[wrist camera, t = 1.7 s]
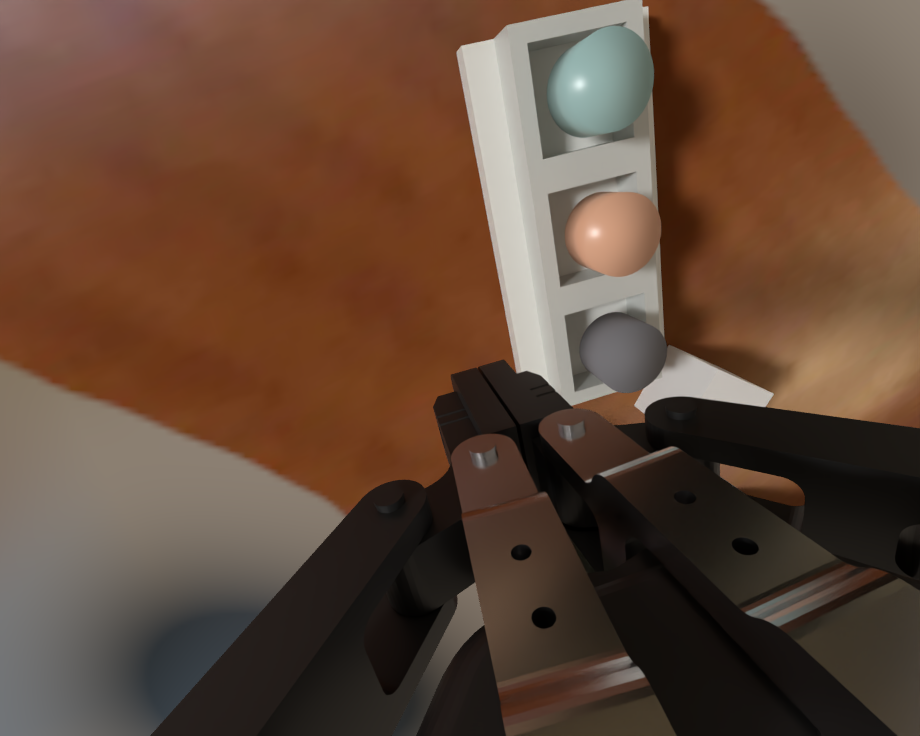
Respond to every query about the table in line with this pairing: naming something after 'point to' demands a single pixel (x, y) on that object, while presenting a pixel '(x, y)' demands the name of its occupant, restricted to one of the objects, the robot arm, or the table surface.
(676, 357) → the white cube
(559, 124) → the teal button
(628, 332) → the charcoal button
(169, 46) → the table surface
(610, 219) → the terracotta button
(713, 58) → the table surface
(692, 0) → the table surface
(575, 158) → the button board
